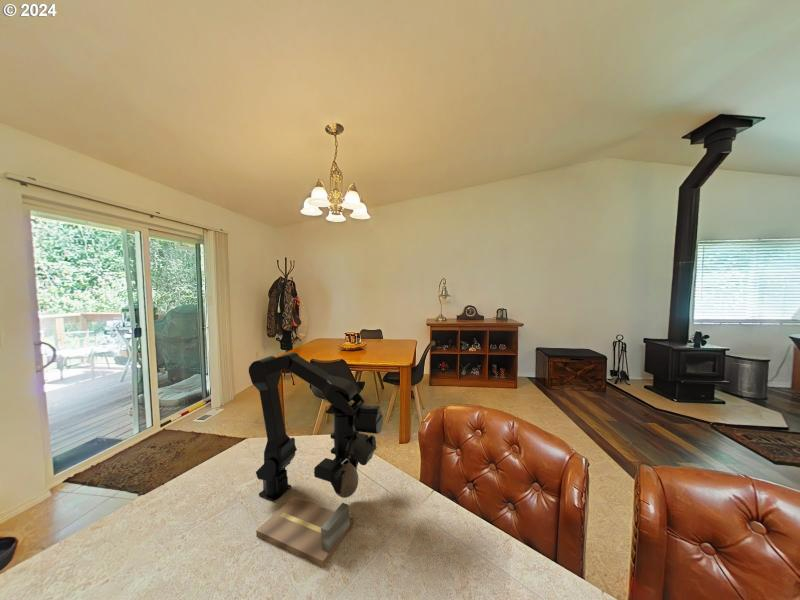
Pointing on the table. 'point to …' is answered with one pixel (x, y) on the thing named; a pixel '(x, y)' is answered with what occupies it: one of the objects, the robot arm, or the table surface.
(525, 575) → the table surface
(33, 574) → the table surface
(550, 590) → the table surface
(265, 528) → the wooden board with block
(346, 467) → the vase
